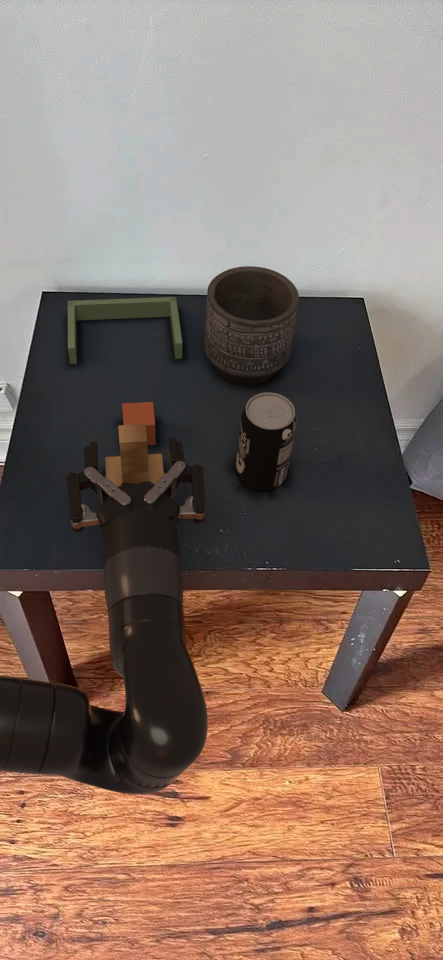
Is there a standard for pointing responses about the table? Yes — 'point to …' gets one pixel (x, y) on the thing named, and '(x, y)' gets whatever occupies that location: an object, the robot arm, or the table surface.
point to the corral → (122, 316)
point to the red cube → (141, 417)
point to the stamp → (134, 458)
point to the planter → (250, 323)
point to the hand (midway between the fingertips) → (133, 443)
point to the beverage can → (265, 441)
